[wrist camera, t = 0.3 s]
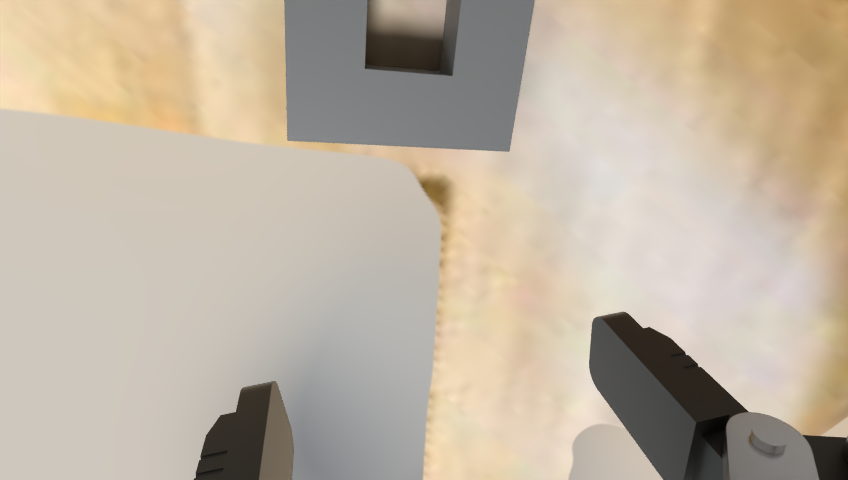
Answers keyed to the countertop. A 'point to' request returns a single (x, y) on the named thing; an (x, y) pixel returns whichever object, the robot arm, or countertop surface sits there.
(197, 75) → the countertop surface
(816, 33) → the countertop surface
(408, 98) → the gray board
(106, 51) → the countertop surface
